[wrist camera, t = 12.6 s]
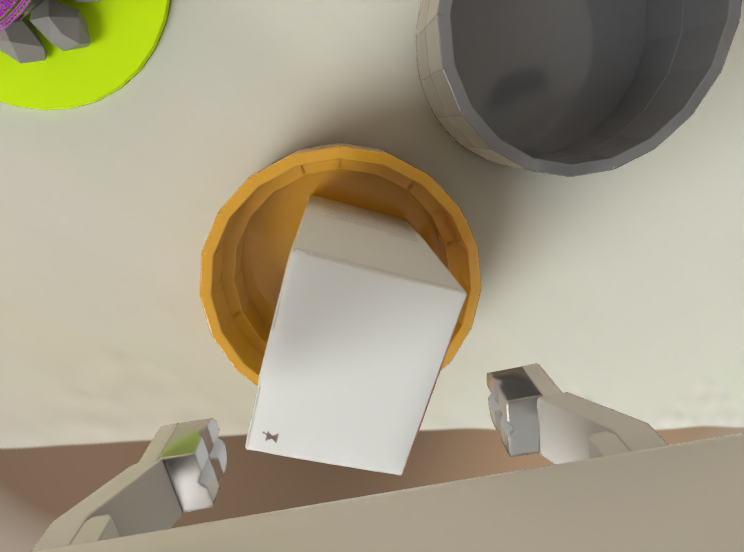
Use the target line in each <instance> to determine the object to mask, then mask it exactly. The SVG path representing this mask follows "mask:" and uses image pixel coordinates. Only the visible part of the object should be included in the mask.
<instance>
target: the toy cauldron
mask: <svg viewBox="0 0 744 552" xmlns="http://www.w3.org/2000/svg"><path fill="white" fill-rule="evenodd" d="M169 5H170V0H0V101H1V102H4V103H7V104H10V105H14V106H18V107H26V108H33V109H41V110H54V109H69V108H75V107H79V106H82V105H86V104H89V103H93V102H96V101H99V100H101V99H103V98H104V97H106V96H108V95H110V94H112V93H113V92H115V91H117V90H119V89H121V88H122V87H123V86H124V85H125V84H126V83H127V82H128V81H130V80H131V79H132V78H133V77H134V76H135V75H136V74H137V73H138V72H139V71H140V70H141V69H142V67H143V66H144V65H145V63H146V62H147V60H148V59H149V57H150V56H151V54H152V53H153V51H154V50H155V48H156V46H157V44H158V41H159V39H160V36H161V34H162V31H163V29H164V26H165V24H166V21H167V16H168V10H169Z"/></svg>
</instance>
